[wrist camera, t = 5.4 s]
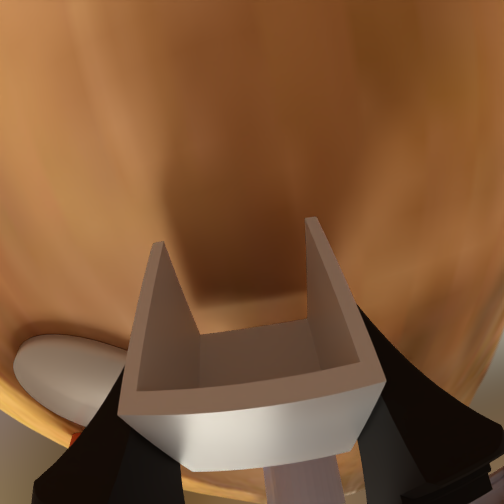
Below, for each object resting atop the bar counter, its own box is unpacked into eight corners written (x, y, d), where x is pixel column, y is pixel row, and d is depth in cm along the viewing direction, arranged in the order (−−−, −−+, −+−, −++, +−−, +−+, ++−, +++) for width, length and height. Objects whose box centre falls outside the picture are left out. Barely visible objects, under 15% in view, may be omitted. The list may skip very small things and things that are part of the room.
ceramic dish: (186, 433, 23) (186, 443, 23) (48, 408, 21) (46, 418, 20) (196, 353, 16) (196, 368, 15) (-9, 316, 13) (-15, 328, 13)
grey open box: (316, 322, 14) (350, 451, 9) (194, 340, 14) (192, 471, 9) (316, 216, 10) (386, 381, 5) (153, 242, 10) (117, 415, 6)
